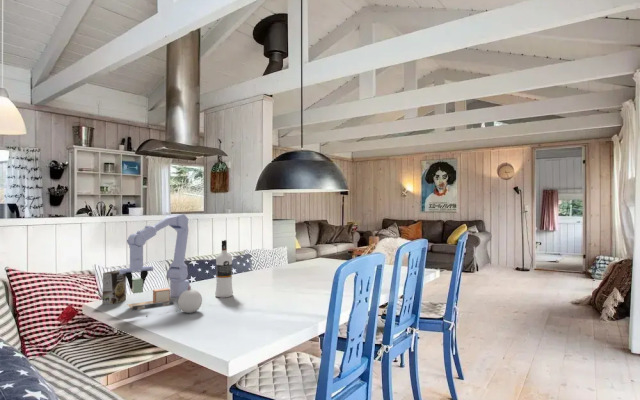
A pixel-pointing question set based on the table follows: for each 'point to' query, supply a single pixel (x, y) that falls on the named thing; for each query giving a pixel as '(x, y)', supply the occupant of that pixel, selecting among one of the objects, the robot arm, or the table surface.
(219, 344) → the table surface
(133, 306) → the tan panel metal trim
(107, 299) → the coffee box
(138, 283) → the sage tin
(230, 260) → the vodka
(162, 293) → the salmon rectangular block
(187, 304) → the ornament
